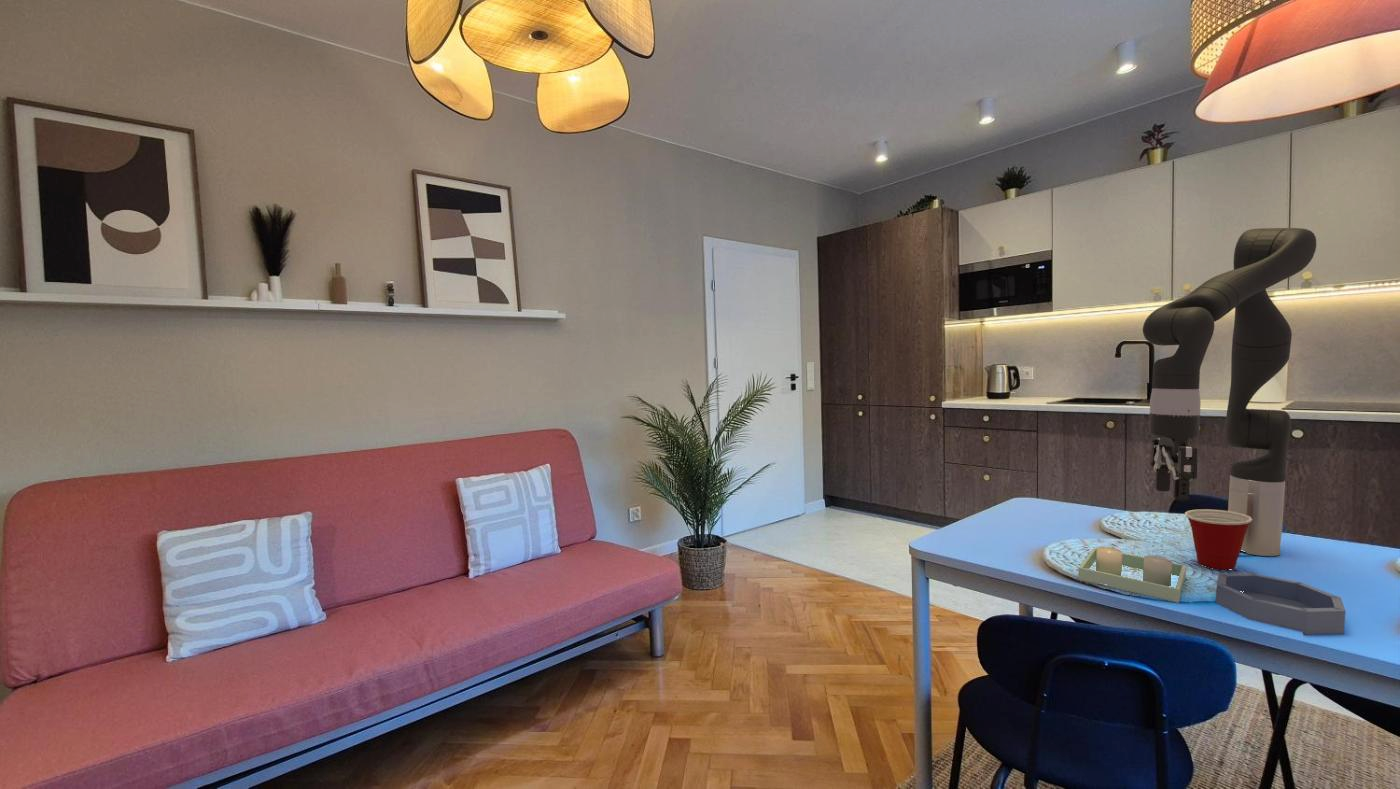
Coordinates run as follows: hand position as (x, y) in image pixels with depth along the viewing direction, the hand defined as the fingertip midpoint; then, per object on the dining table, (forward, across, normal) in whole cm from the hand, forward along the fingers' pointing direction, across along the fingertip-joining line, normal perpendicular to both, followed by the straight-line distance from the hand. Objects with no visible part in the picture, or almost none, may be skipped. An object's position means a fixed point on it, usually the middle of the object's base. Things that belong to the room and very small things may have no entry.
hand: (1171, 495), depth 111 cm
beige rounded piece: (+19, +3, +1) cm, 19 cm away
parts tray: (+19, +5, +4) cm, 20 cm away
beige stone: (+19, +6, +8) cm, 21 cm away
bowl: (+20, -4, -15) cm, 25 cm away
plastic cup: (+19, +18, -15) cm, 30 cm away
